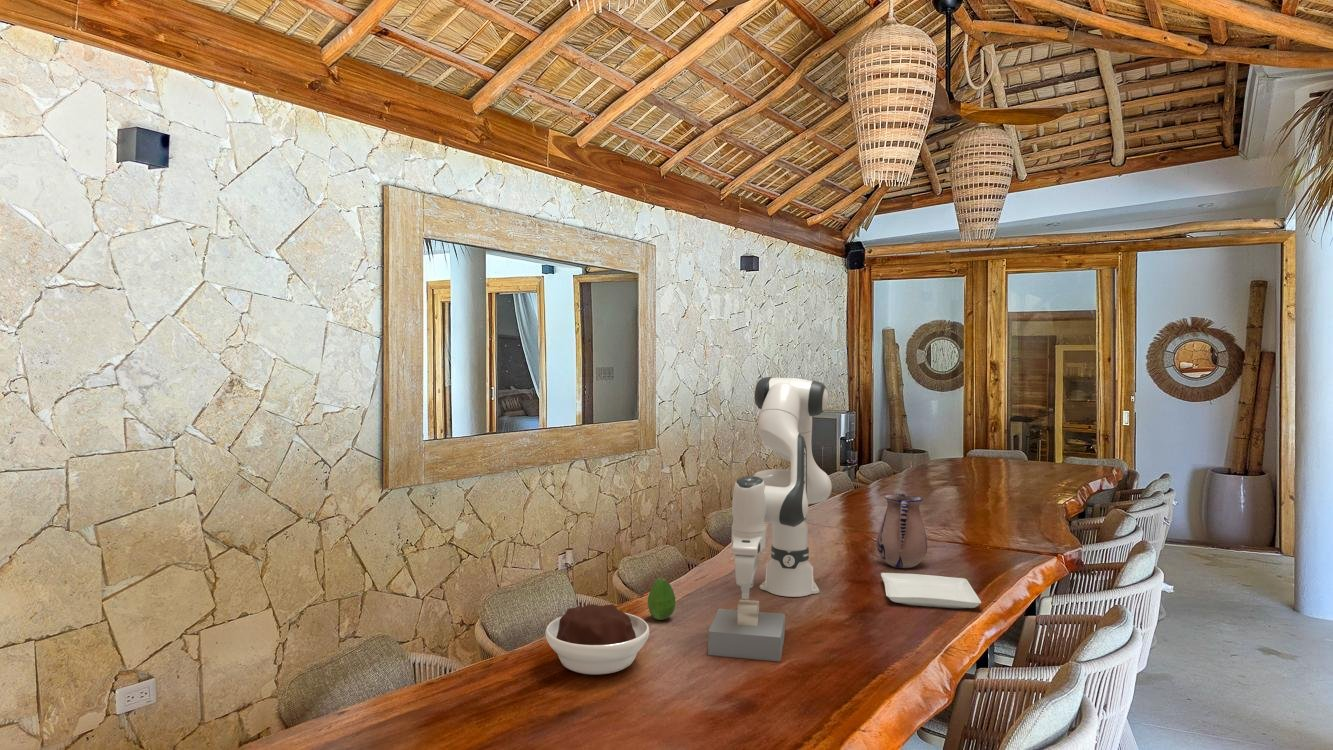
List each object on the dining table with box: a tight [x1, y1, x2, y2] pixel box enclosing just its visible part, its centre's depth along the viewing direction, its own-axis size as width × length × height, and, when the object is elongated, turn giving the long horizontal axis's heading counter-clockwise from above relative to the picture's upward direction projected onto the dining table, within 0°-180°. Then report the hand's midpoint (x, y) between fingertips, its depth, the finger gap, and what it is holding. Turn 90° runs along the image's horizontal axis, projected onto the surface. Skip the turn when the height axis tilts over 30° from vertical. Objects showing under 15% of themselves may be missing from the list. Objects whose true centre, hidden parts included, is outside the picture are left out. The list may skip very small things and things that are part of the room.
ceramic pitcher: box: [876, 493, 928, 569], centre depth 282 cm, size 18×21×25 cm
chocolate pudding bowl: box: [545, 604, 650, 676], centre depth 190 cm, size 25×25×15 cm
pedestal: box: [707, 608, 786, 662], centre depth 205 cm, size 18×18×6 cm
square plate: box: [880, 572, 982, 609], centre depth 248 cm, size 27×27×4 cm
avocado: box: [647, 577, 676, 621], centre depth 224 cm, size 8×8×12 cm
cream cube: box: [737, 599, 760, 626], centre depth 205 cm, size 5×5×5 cm
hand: (747, 592), depth 205 cm, fingers open, 8 cm apart
